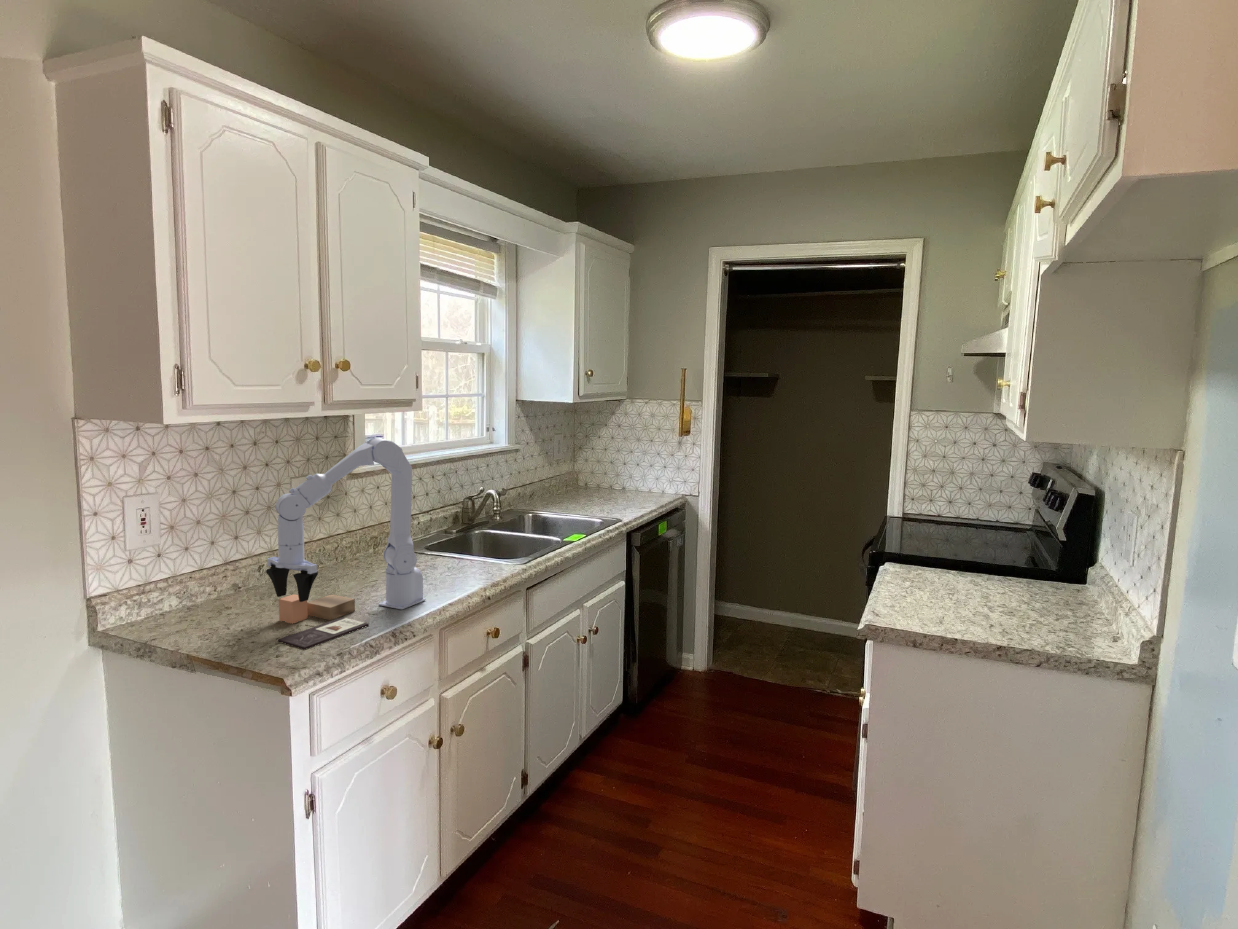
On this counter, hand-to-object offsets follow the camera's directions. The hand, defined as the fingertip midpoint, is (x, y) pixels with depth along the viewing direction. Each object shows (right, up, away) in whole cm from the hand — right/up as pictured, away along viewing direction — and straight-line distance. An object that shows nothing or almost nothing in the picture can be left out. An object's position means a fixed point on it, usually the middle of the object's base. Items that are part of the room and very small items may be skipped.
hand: (292, 598), depth 178 cm
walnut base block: (+7, -5, +6) cm, 11 cm away
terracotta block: (0, -5, +1) cm, 5 cm away
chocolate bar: (+11, -7, -8) cm, 16 cm away
